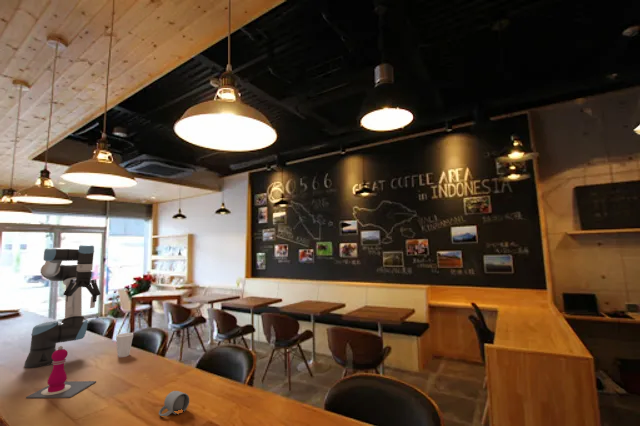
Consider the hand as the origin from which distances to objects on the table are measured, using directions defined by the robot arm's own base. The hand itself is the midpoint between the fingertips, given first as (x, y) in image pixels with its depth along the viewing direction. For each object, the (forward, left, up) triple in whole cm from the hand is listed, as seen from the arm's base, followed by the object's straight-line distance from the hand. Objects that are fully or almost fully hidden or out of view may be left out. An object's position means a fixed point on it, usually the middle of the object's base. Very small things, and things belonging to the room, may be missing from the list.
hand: (80, 307), depth 183 cm
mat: (+16, -29, -34) cm, 47 cm away
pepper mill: (+14, -30, -33) cm, 47 cm away
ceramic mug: (+79, -51, -34) cm, 100 cm away
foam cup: (+15, +21, -34) cm, 43 cm away
